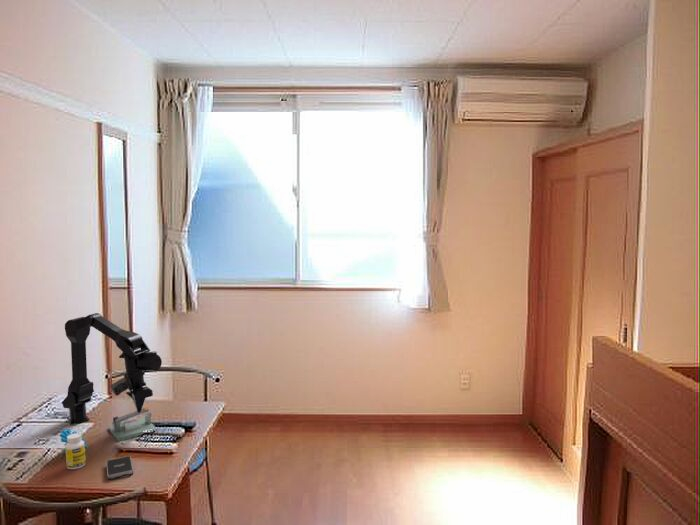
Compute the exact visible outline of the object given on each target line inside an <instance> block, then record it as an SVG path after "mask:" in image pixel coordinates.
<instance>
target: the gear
mask: <svg viewBox="0 0 700 525" xmlns="http://www.w3.org/2000/svg"><path fill="white" fill-rule="evenodd" d="M71 432H72V433H71ZM75 433H78V432H77V431H76V430H74V431H72V429H67V430H66V429H63V430H62V431H61V433H60V434H59V437H60V443H61V442H62V443H64V446H65V445H66V444H67V443H68V442H67V436H69V435H71V434H75ZM79 433H80V432H79ZM80 434H81V437H82V439H81V440H83V441H84V444H85V452H86V451H87V448H89V447H88V446H89V445H87V441H86V440H85V439H83V438H84V437H83V435H84V434H83V433H80ZM61 452H62V453H63V454H66V451H65V448H64V449H63V450H62V451H61Z"/></svg>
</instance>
